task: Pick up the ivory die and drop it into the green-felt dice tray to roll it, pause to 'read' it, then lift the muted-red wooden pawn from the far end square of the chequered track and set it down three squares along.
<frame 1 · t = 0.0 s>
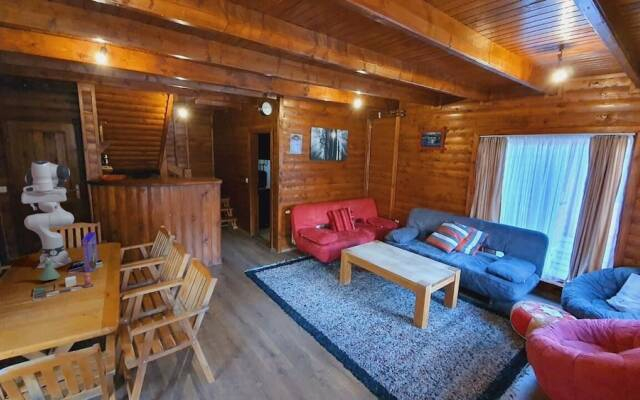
hand: (46, 209, 179), 48 cm above the table, fingers open, 8 cm apart
die: (71, 285, 183), on the table
character figurine: (48, 281, 186), on the table
track board: (65, 291, 175), on the table
pawn: (88, 286, 182), point 1 cm above the table, touching track board
dice tray: (45, 290, 175), on the table
cereal box: (92, 267, 210), on the table
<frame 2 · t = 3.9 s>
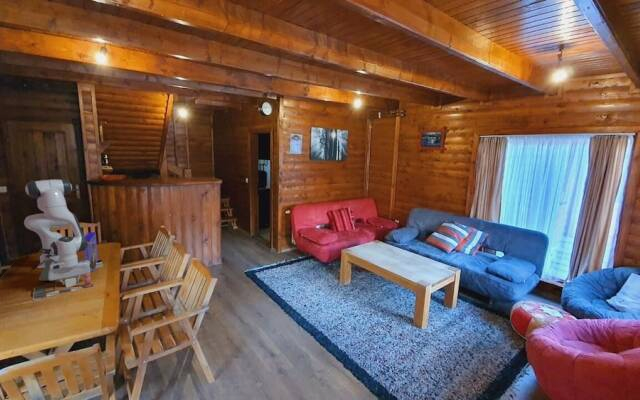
hand: (71, 282, 183), 2 cm above the table, fingers closed on die, 5 cm apart
die: (71, 285, 183), on the table, touching gripper
everything else where it was.
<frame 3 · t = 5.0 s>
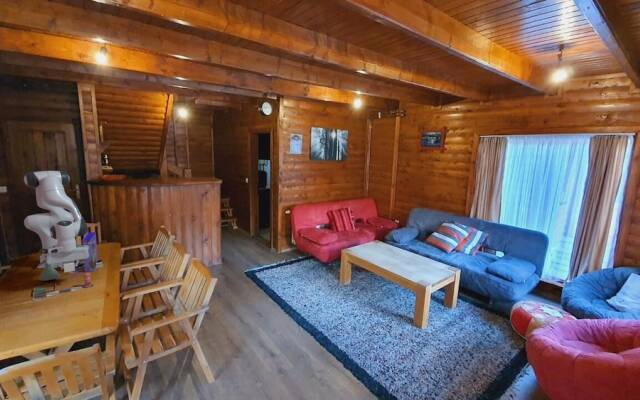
hand: (69, 267, 181), 12 cm above the table, fingers closed on die, 5 cm apart
die: (69, 270, 182), point 10 cm above the table, touching gripper
everything else where it was.
when the fingers open (11 cm above the table, at t = 6.4 s): die drops 9 cm, resting on dice tray.
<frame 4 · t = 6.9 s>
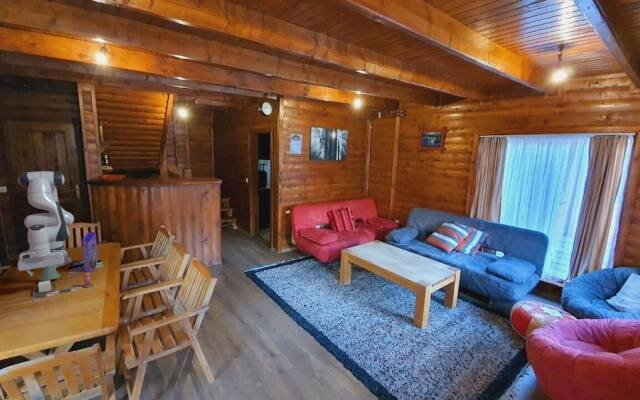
hand: (43, 273, 173), 11 cm above the table, fingers open, 8 cm apart
die: (45, 290, 175), resting on dice tray
everything else where it was.
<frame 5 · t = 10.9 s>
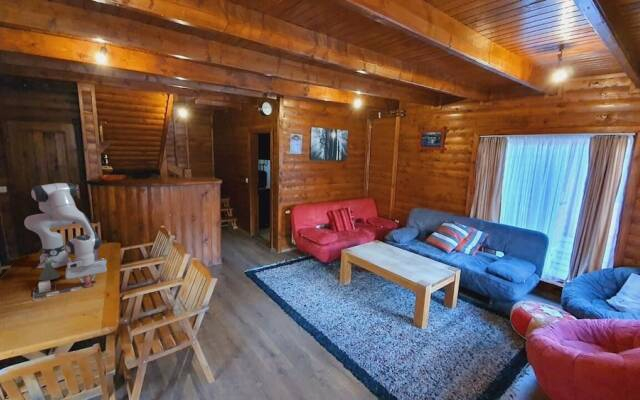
hand: (87, 281, 182), 4 cm above the table, fingers closed on pawn, 3 cm apart
pawn: (88, 286, 182), point 1 cm above the table, touching gripper, track board
everything else where it was.
when the fingers open (4 cm above the table, at t = 16.2 s): pawn stays where it is, resting on track board.
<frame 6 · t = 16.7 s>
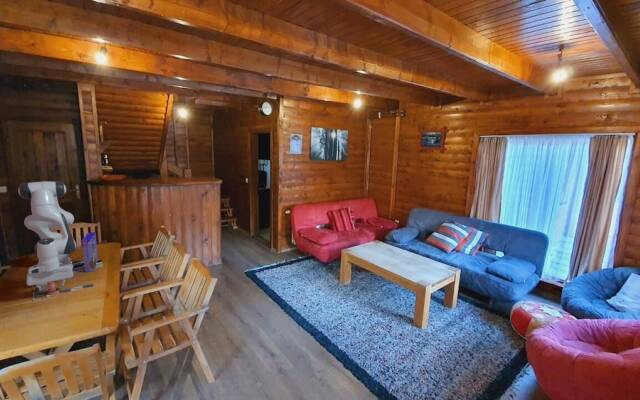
hand: (52, 287, 171), 4 cm above the table, fingers open, 8 cm apart
pawn: (52, 293, 171), point 1 cm above the table, touching track board
everything else where it was.
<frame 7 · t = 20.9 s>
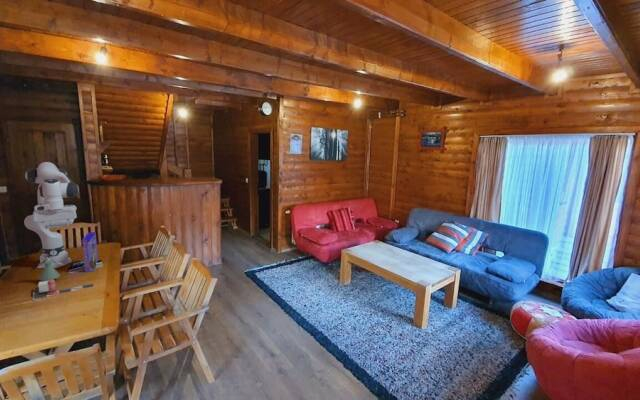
hand: (56, 227, 179), 37 cm above the table, fingers open, 8 cm apart
nothing on the table moved.
at the end: pawn 0.0 cm from the target spot on the track board, point 0.6 cm above the track board's base; pawn tilted 0°; die inside the target area on the dice tray (0.0 cm from its centre), point 0.3 cm above the dice tray's base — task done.
